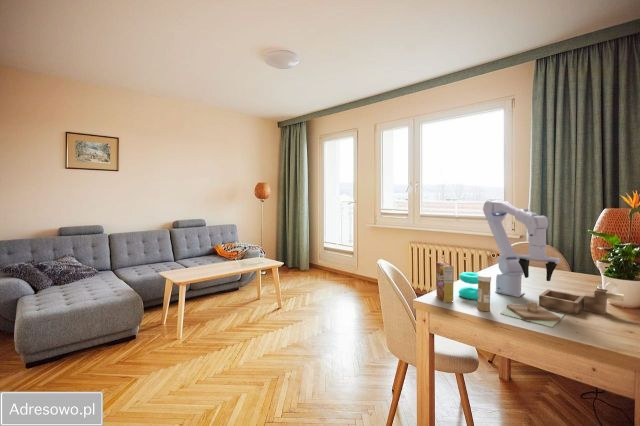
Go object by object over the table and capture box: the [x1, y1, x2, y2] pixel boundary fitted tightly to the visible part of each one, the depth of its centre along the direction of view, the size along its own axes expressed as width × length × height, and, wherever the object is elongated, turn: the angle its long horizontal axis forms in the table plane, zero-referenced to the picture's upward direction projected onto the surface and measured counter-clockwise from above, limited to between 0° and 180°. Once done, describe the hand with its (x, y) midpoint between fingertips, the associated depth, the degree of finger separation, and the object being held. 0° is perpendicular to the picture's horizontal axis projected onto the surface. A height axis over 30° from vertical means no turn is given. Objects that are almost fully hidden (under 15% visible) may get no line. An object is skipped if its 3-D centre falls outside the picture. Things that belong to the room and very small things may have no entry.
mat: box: [499, 303, 565, 328], centre depth 116 cm, size 16×16×1 cm
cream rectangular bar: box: [593, 289, 625, 302], centre depth 117 cm, size 8×2×2 cm, turn 41°
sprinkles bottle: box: [476, 273, 492, 312], centre depth 121 cm, size 5×5×14 cm
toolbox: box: [538, 289, 585, 316], centre depth 124 cm, size 12×12×4 cm
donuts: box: [458, 271, 480, 301], centre depth 137 cm, size 10×10×10 cm
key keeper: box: [583, 287, 608, 315], centre depth 120 cm, size 6×4×8 cm, turn 41°
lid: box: [506, 300, 561, 322], centre depth 116 cm, size 12×12×4 cm
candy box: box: [435, 261, 455, 303], centre depth 133 cm, size 9×4×15 cm, turn 179°
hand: (537, 279), depth 127 cm, fingers open, 7 cm apart
